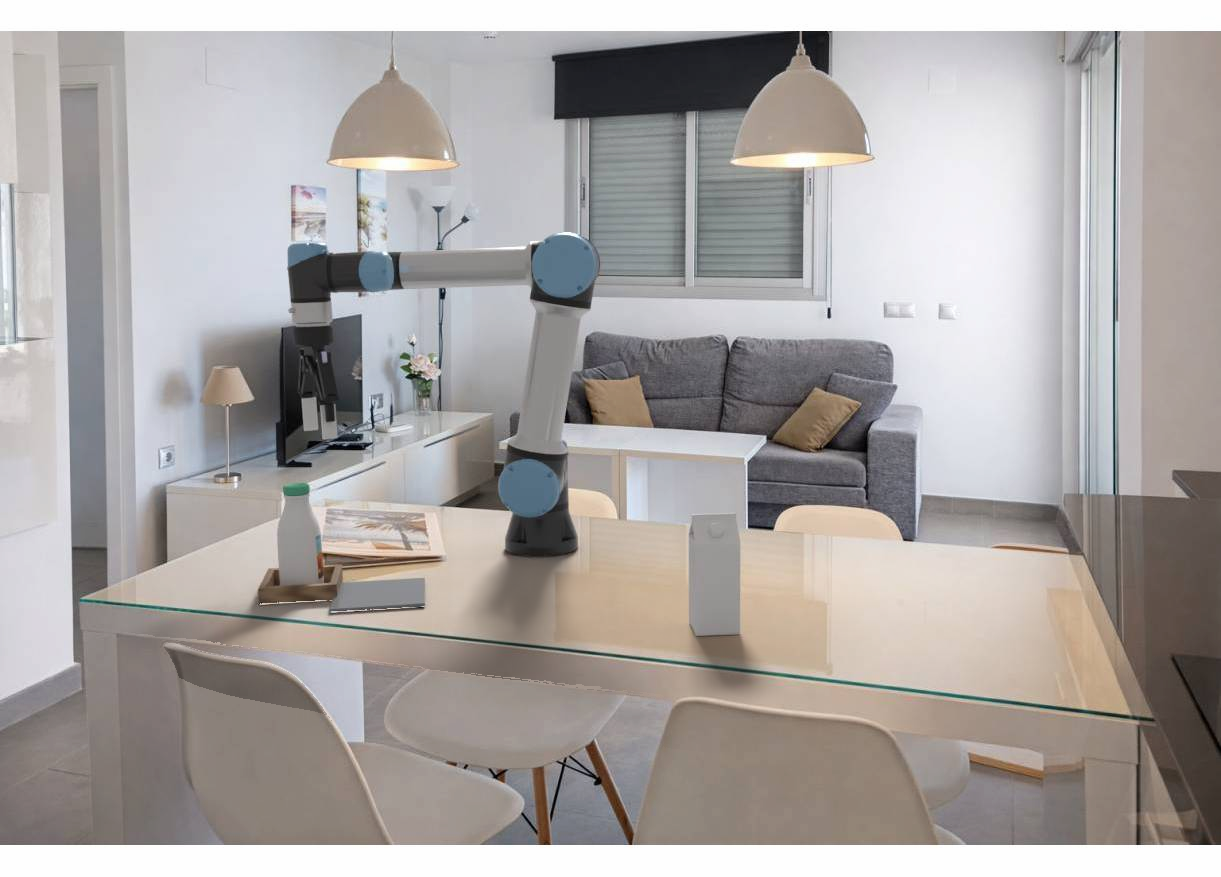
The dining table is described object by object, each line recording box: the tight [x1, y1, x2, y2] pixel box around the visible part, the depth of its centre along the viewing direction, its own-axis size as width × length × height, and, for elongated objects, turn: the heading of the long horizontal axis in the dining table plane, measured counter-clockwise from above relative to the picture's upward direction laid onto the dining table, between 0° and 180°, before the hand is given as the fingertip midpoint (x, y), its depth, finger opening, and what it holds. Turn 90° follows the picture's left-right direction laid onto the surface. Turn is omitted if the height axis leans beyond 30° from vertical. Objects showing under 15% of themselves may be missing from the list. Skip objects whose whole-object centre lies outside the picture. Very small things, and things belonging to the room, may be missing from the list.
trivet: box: [329, 577, 426, 612], centre depth 198 cm, size 16×16×1 cm
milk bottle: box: [276, 482, 324, 586], centre depth 200 cm, size 8×8×20 cm
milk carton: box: [688, 512, 741, 637], centre depth 177 cm, size 7×7×19 cm
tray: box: [257, 563, 344, 605], centre depth 202 cm, size 13×13×3 cm
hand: (320, 434), depth 216 cm, fingers open, 13 cm apart
